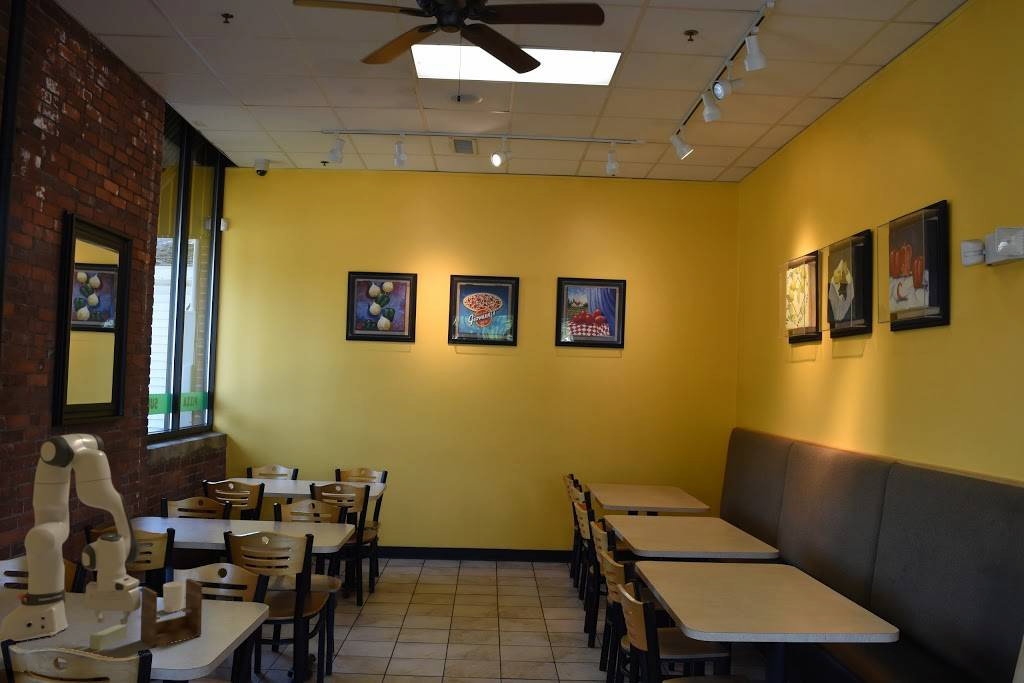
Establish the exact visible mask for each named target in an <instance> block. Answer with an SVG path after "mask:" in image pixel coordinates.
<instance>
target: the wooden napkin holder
mask: <svg viewBox="0 0 1024 683" xmlns="http://www.w3.org/2000/svg"><path fill="white" fill-rule="evenodd" d="M202 602H203V584H202V583H200V582H198V581H196V580H194V579H192V578H186V579H185V607H183V609H182V610H181V611H182V613H184V612H185V615H181V616H176V617H173V618H167V619H164V620H160V619H161V615H160V614H158V613H157V612H158V592H156V591H155V590H153V589H151V588H149V587H147V586H142V587H141V606H140V608H141V609H140V641H141V640H142V641H141V642H143V643H144V644H146V645H147V646H148V647H150V648H151V649H154V647H155V648H157V647H156V646H159V647H161V646H160V645H163V646H165V645H164V644H167V645H169V644H168V643H171V642H175V641H179V640H184V639H188V638H192V637H196V636H200V635H201V636H202V612H203V610H202V609H203V608H202V607H203V606H202ZM157 620H159V621H157ZM201 636H200V637H201ZM196 638H197V637H196ZM192 639H193V638H192ZM188 640H189V639H188ZM184 641H185V640H184ZM175 643H176V642H175ZM171 644H172V643H171Z"/></svg>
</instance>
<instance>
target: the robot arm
mask: <svg viewBox="0 0 1024 683" xmlns="http://www.w3.org/2000/svg"><path fill="white" fill-rule="evenodd" d="M104 451H105V443H104V441H103V439H102V437H100V436H99V435H97V434H94V433H70V434H64V435H54V436H50V437H47V438H46V439H44V440H43V441H42V443H41V444H40V448H39V460H38V463H37V467H36V471H35V476H34V484H33V485H34V486H33V495H32V496H33V497H32V507H33V511H34V512H33V513H34V526H33V527H32V528H31V529H30V530H28V532H27V534H26V536H25V539H24V548H25V554H26V560H27V567H28V583H27V585H28V586H27V588H28V589H27V592H26V593H25V594H24V593H22V592H21V593H18V595H17V599H19V600H20V605H19V606H17V607H16V608H15V609H13V610H12V611H11V612H10V613H9V614H7V615H6V616H5V617H4V618H3V619H2V623H1V626H0V627H1V628H0V631H1V632H0V641H1V640H4V639H13V638H14V640H20V639H26V638H32V637H41V636H47V635H54V634H56V633H57V632H59V631H61V630H64V629H65V628H67V627H68V628H69V624H68V621H67V618H66V617H67V615H66V610H65V603H66V596H67V594H66V593H67V592H66V587H65V571H66V570H65V569H66V568H65V567H66V566H65V564H64V558H63V544H64V543H65V542H66V541H67V540H68V537H69V535H70V511H69V499H70V498H69V497H70V487H71V484H70V483H71V472H72V469H73V470H74V478H75V489H76V495H77V498H78V500H79V501H80V502H81V503H82V504H84V505H86V506H88V507H92V508H96V509H102V510H105V511H108V512H109V513H111V515H112V517H113V520H114V523H115V526H116V527H115V528H116V530H117V531H116V532H117V533H110V532H109V533H104V534H102V535H100V536H99V537H98V538H97V540H96V541H94V542H91V543H89V544H87V545H85V546H84V548H83V549H82V551H81V554H80V555H81V556H80V559H81V566H82V567H83V568H84V569H86V570H88V571H91V572H92V571H97V575H96V581H90V582H89V583H87V584H86V587H85V595H84V601H83V602H84V604H83V607H84V609H85V610H86V611H93V613H94V615H95V617H96V620H97V622H96V623H98V624H104V623H105V621H106V620H105V618H106V617H105V616H103V614H102V612H103V611H105V612H107V611H108V612H122V615H123V618H120V625H127V624H128V623H129V617H130V616H131V613H133V612H135V611H137V610H139V609H140V608H141V599H142V595H141V591H140V588H139V587H138V586H139V585H140V580H139V579H137V578H135V577H132V576H130V575H129V574H127V569H126V566H129V565H132V564H133V563H134V562H135V561H136V560H137V558H138V557H139V555H140V552H141V551H140V550H141V548H140V545H139V544H140V543H139V541H138V539H137V537H136V535H135V534H136V533H135V532H134V528H133V524H132V521H131V517H130V514H129V510H128V508H127V506H128V505H127V504H126V501H125V498H124V496H123V495H122V493H121V492H119V491H117V490H116V489H115V487H114V484H113V482H112V474H111V470H110V469H111V467H110V465H109V461H108V458H107V454H106V453H105V452H104ZM68 628H67V629H68ZM65 630H66V629H65ZM65 630H64V631H65ZM61 632H62V631H61ZM59 633H60V632H59ZM56 635H57V634H56Z"/></svg>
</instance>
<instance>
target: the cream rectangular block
mask: <svg viewBox="0 0 1024 683" xmlns="http://www.w3.org/2000/svg"><path fill="white" fill-rule="evenodd" d="M127 630H128V625H127V624H115V625H113V626H111V627H108V628H106V629H102V630H101V631H98V632H95V633H93V634H91V635H90V636H89V649H90V648H91V649H90V650H98V651H100V650H102V649H105V648H108V647H109V646H112V645H114V644H116V643H118V641H119V642H121V641H123V640H125V639H127V636H128V634H127V633H128V631H127ZM120 640H121V641H120Z"/></svg>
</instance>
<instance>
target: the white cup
mask: <svg viewBox="0 0 1024 683" xmlns="http://www.w3.org/2000/svg"><path fill="white" fill-rule="evenodd" d="M162 590H163V593H162V594H163V611H164V613H176V612H175V611H178V612H180V611H179V610H181V609H183V608H184V602H185V595H186V581H181V580H180V581H179V580H178V581H171V582H166V583H164V584H163V585H162ZM181 611H182V610H181Z"/></svg>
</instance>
